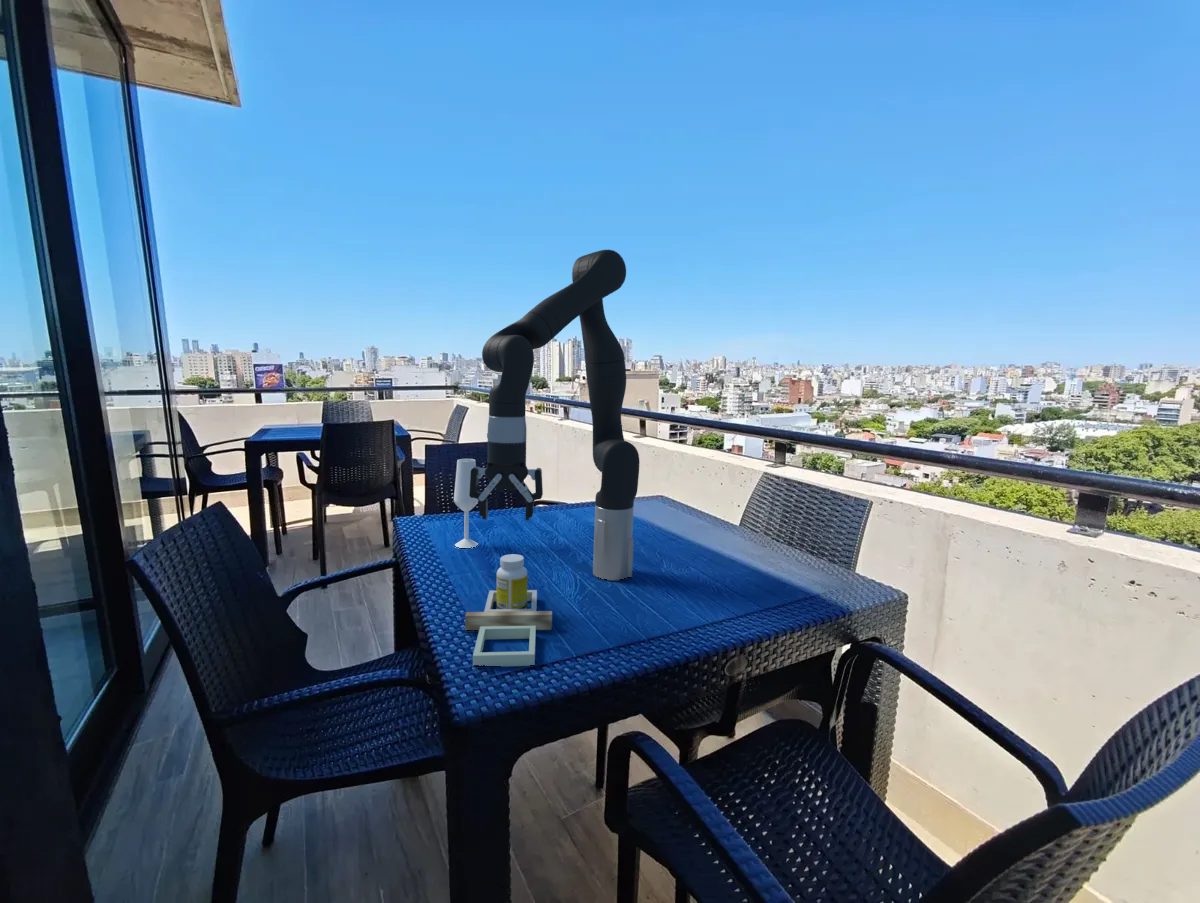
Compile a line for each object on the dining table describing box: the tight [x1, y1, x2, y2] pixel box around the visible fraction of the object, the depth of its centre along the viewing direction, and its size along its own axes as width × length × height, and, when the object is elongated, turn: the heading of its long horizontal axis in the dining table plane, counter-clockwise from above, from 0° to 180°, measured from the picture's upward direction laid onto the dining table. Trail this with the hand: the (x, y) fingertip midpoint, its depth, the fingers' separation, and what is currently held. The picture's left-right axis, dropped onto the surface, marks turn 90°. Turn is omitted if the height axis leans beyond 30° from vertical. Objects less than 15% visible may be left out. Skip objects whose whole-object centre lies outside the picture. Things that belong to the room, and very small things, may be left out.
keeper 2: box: [472, 626, 537, 667], centre depth 90 cm, size 10×10×2 cm
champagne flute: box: [453, 458, 479, 549], centre depth 143 cm, size 7×7×24 cm
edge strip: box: [464, 610, 553, 632], centre depth 98 cm, size 16×2×3 cm, turn 96°
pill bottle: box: [496, 553, 528, 609], centre depth 105 cm, size 6×6×11 cm
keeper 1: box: [483, 589, 538, 612], centre depth 106 cm, size 10×10×2 cm
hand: (506, 518), depth 104 cm, fingers open, 8 cm apart
